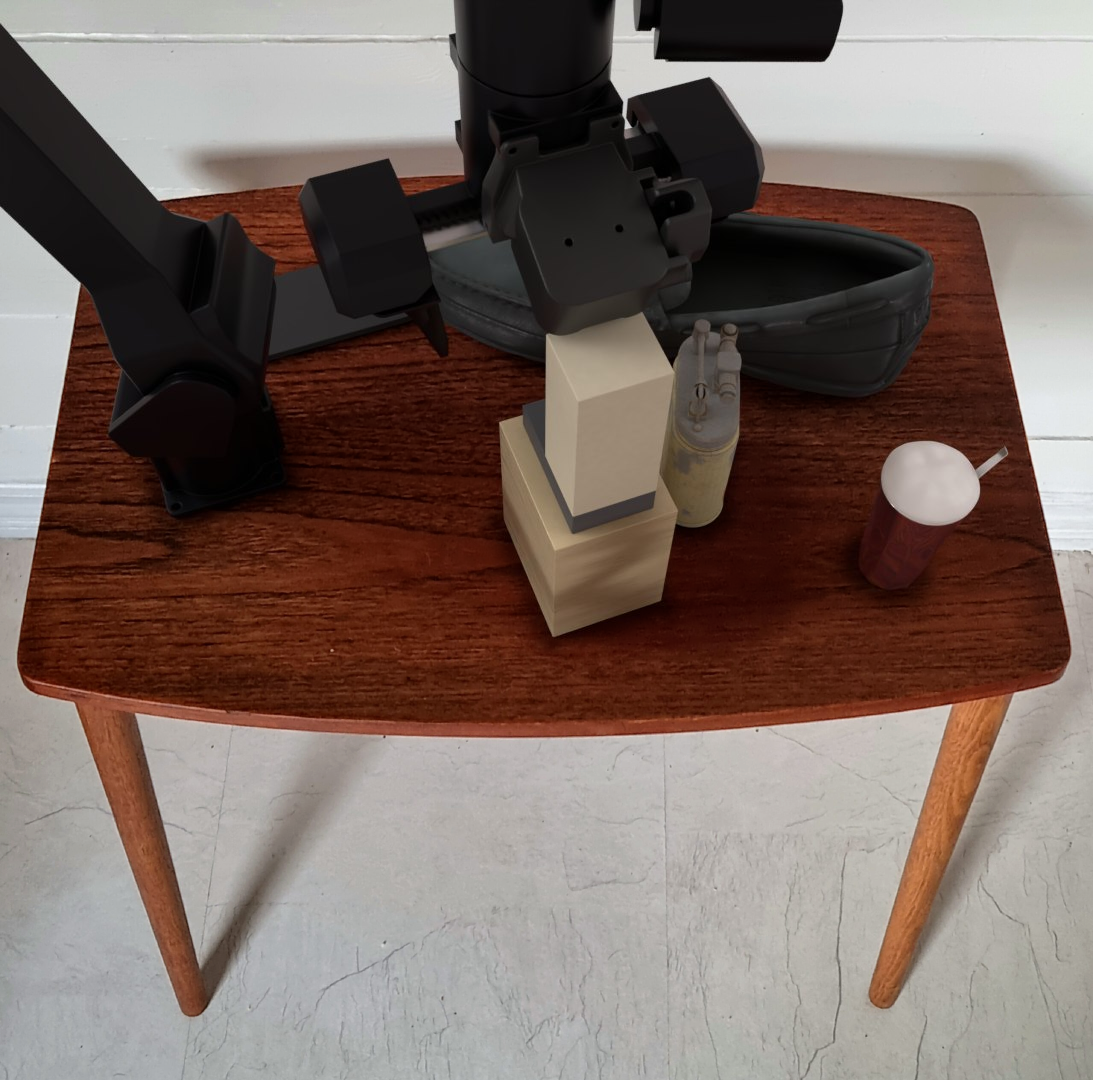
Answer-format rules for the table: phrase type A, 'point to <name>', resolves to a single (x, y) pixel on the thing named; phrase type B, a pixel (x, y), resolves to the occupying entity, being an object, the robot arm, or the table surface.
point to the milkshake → (917, 509)
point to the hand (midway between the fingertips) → (533, 324)
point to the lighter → (702, 423)
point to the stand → (580, 544)
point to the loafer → (740, 301)
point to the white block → (602, 420)
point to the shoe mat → (314, 315)
